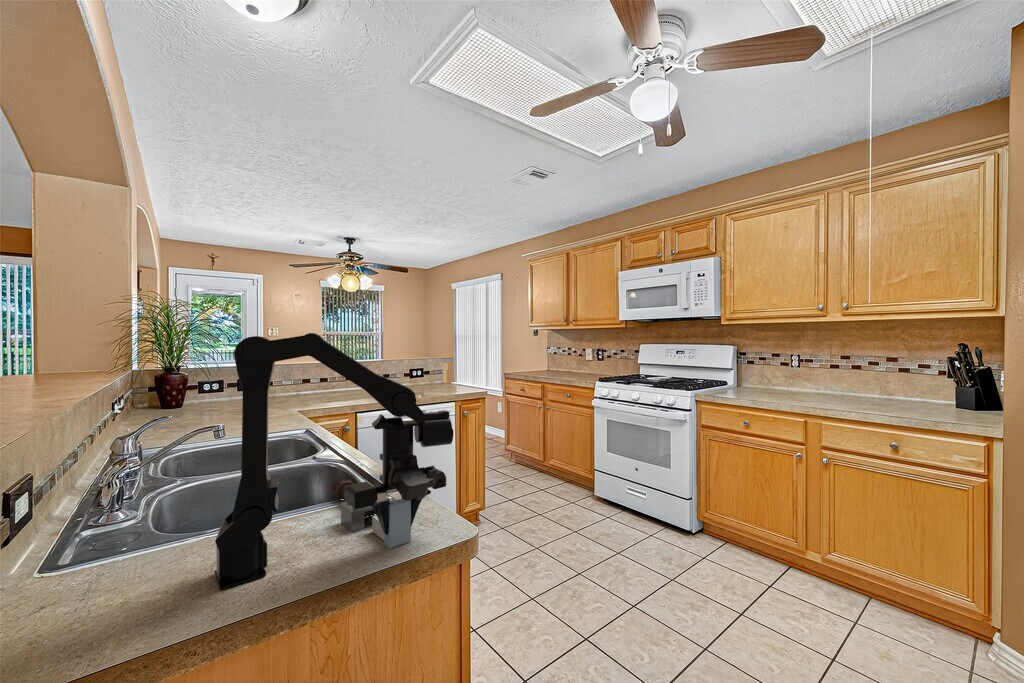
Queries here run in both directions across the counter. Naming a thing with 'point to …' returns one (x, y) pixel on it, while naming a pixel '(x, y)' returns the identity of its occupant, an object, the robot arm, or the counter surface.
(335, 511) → the counter surface
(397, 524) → the handle
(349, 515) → the housing
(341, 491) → the brown lumpy shape
